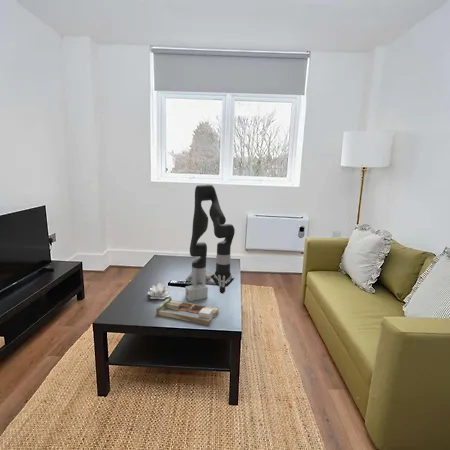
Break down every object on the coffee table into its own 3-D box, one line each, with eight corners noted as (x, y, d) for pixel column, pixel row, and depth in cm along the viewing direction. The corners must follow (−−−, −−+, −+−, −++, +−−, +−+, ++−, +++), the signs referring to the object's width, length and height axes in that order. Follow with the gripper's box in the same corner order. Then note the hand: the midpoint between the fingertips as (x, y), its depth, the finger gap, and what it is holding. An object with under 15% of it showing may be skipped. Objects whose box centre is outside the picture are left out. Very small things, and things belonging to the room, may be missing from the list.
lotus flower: (175, 296, 202) (175, 283, 200) (157, 304, 190) (157, 290, 188) (160, 290, 210) (160, 278, 209) (142, 297, 199) (142, 284, 197)
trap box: (169, 303, 191) (169, 297, 191) (218, 312, 182) (218, 305, 182) (156, 314, 177) (156, 308, 176) (209, 324, 168) (209, 317, 167)
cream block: (202, 315, 178) (203, 307, 177) (212, 317, 176) (213, 309, 175) (198, 320, 172) (198, 312, 171) (209, 322, 170) (209, 314, 170)
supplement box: (184, 297, 201) (203, 293, 207) (189, 301, 195) (207, 298, 201) (185, 286, 200) (203, 283, 206) (189, 290, 193) (208, 287, 199)
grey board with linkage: (230, 276, 242) (230, 267, 241) (225, 286, 221) (226, 277, 220) (192, 272, 247) (192, 264, 245) (184, 282, 226) (184, 273, 224)
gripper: (237, 261, 167) (236, 292, 170) (213, 258, 170) (212, 288, 174) (233, 265, 160) (232, 297, 163) (208, 262, 163) (208, 293, 167)
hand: (222, 293), depth 168 cm, fingers closed
